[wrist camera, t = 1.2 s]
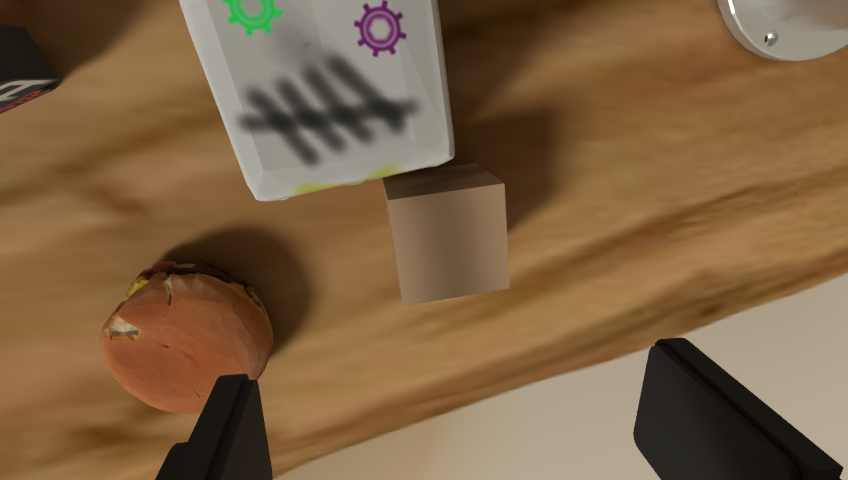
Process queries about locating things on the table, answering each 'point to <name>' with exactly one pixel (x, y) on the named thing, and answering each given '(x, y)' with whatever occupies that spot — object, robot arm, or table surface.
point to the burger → (185, 335)
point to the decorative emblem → (22, 69)
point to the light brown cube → (447, 232)
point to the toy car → (325, 88)
